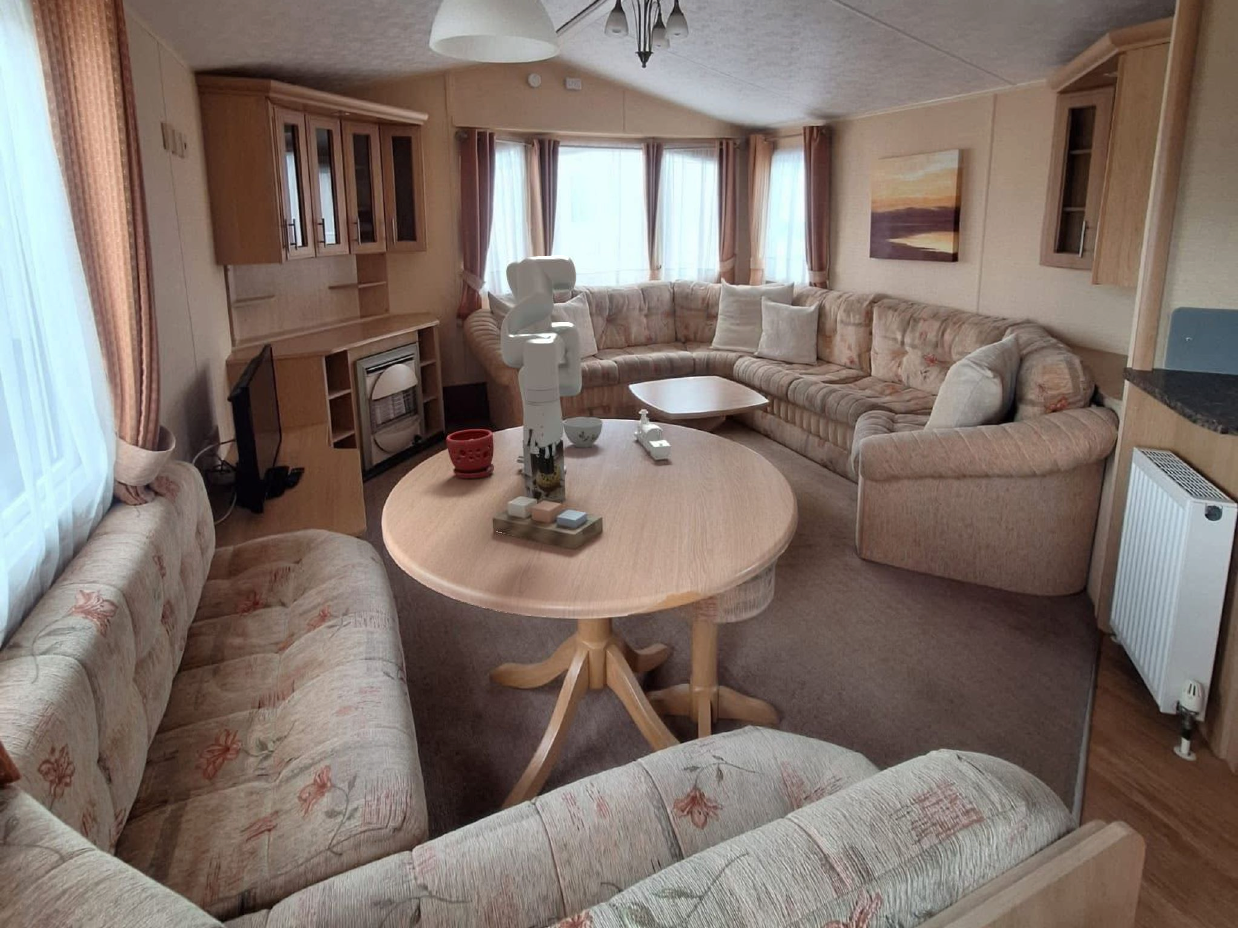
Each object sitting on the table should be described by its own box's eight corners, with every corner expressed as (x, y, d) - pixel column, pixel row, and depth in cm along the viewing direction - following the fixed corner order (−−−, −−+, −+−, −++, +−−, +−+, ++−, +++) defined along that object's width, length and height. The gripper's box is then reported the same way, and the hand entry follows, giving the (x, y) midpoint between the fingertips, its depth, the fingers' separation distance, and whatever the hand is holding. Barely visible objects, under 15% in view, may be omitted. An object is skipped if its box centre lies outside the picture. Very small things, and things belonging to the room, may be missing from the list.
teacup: (606, 449, 254) (605, 424, 251) (566, 452, 252) (565, 427, 249) (599, 436, 268) (598, 413, 265) (561, 439, 266) (560, 415, 264)
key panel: (493, 531, 192) (492, 517, 191) (523, 515, 202) (522, 501, 201) (575, 549, 181) (574, 534, 180) (602, 530, 191) (602, 516, 190)
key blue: (557, 530, 187) (556, 516, 186) (569, 523, 191) (568, 509, 190) (575, 534, 184) (575, 520, 183) (587, 526, 188) (586, 512, 187)
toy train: (649, 434, 269) (648, 405, 266) (673, 461, 241) (673, 428, 238) (630, 436, 268) (629, 406, 265) (652, 463, 240) (652, 430, 237)
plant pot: (495, 465, 241) (492, 426, 238) (496, 479, 229) (493, 438, 225) (450, 468, 239) (446, 429, 235) (449, 483, 227) (445, 442, 223)
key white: (508, 516, 193) (507, 502, 192) (520, 509, 197) (519, 496, 196) (525, 519, 191) (524, 506, 190) (537, 512, 195) (536, 499, 194)
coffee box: (534, 506, 208) (530, 445, 203) (525, 498, 213) (521, 439, 208) (566, 499, 212) (563, 440, 207) (557, 492, 217) (553, 434, 212)
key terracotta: (532, 521, 190) (531, 507, 189) (544, 514, 194) (543, 500, 193) (550, 524, 187) (549, 510, 186) (562, 517, 191) (561, 503, 190)
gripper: (546, 386, 189) (551, 461, 195) (509, 400, 177) (514, 480, 182) (574, 389, 186) (577, 465, 191) (537, 404, 173) (542, 485, 179)
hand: (546, 472), depth 187 cm, fingers closed
